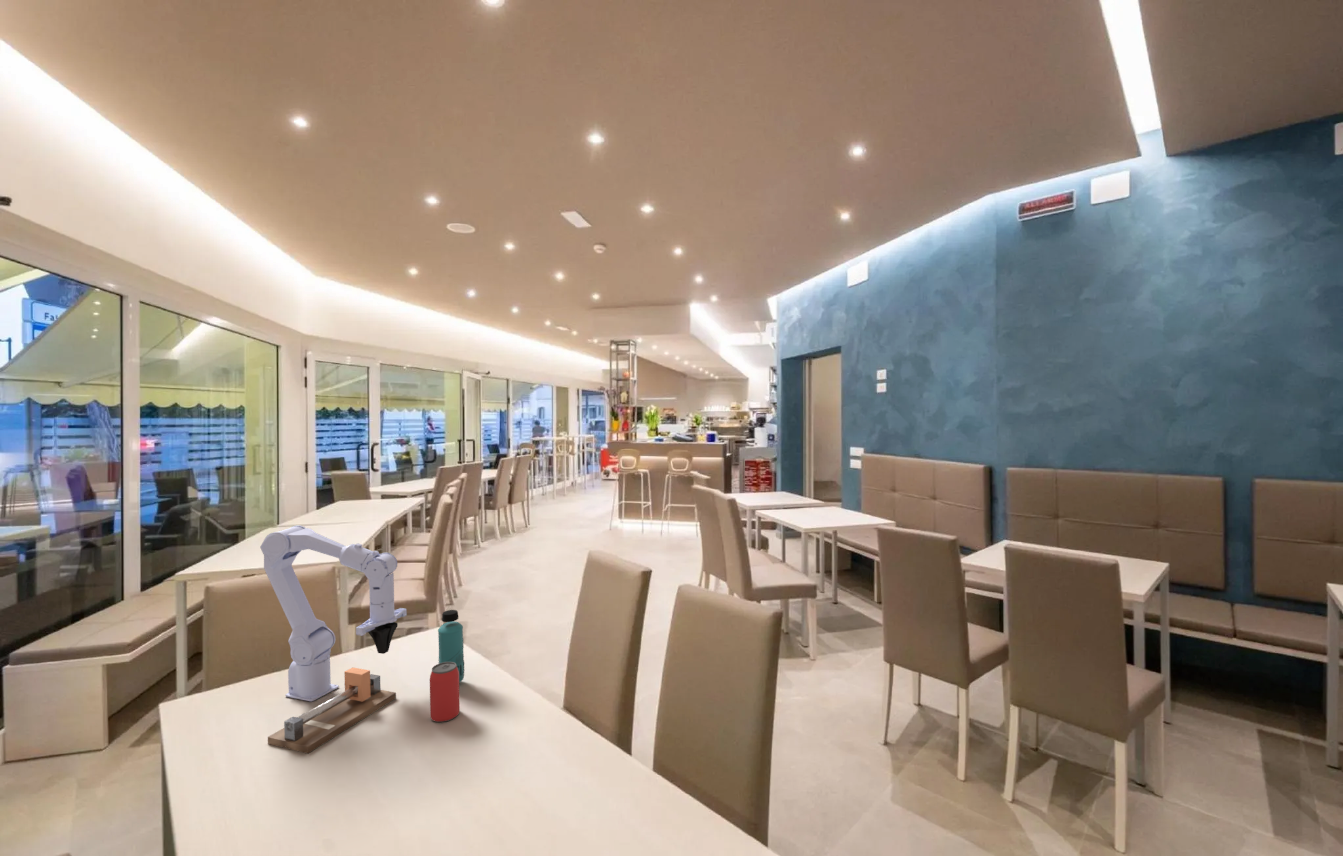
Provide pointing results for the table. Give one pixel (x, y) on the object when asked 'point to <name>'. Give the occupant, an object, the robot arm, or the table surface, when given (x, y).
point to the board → (332, 722)
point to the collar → (358, 683)
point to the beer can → (444, 692)
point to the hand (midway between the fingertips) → (383, 652)
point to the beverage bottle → (451, 641)
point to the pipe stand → (324, 709)
